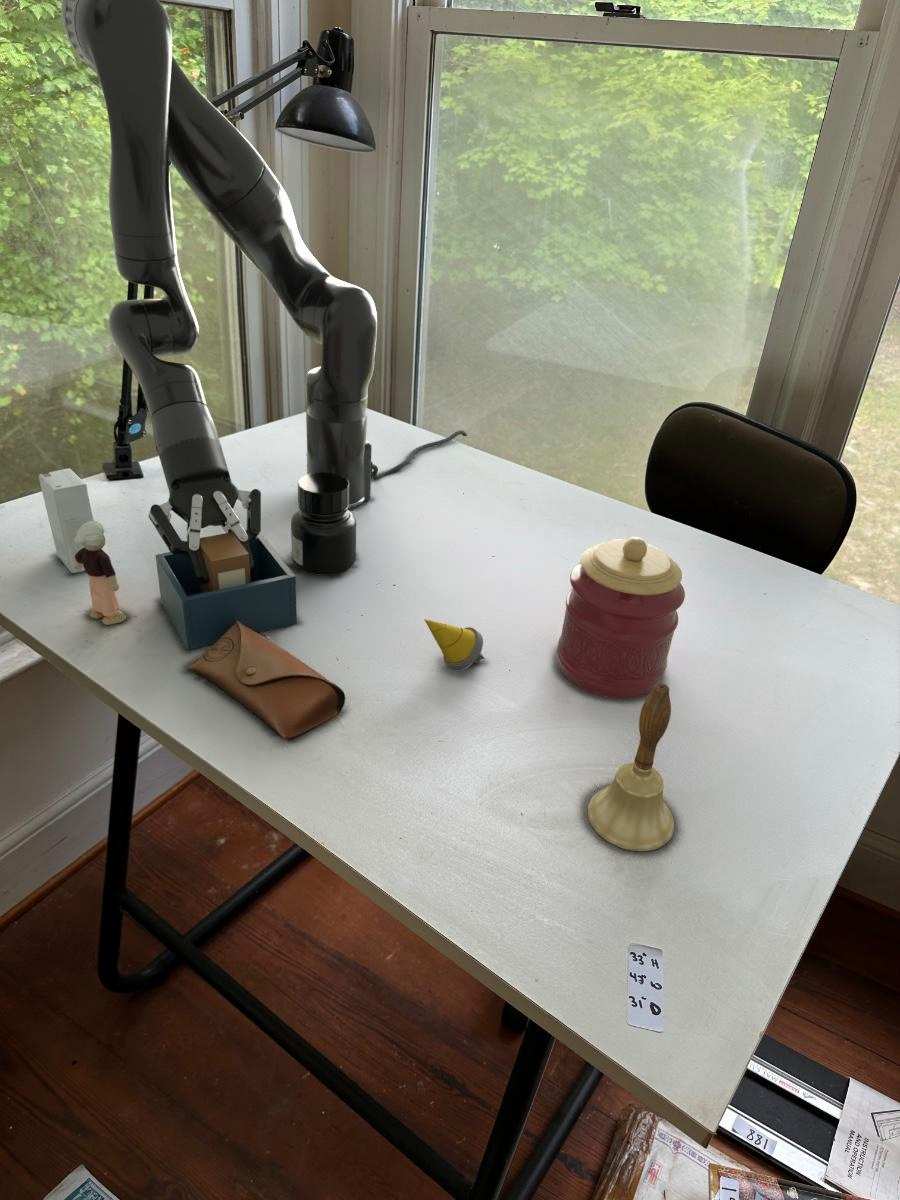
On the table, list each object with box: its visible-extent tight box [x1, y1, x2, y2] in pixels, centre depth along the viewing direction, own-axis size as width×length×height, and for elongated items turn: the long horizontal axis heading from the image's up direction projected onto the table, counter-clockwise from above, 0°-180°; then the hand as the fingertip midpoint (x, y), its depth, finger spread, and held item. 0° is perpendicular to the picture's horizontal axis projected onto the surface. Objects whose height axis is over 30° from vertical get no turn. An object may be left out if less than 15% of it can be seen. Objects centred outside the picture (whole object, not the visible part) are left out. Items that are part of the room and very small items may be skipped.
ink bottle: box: [290, 472, 358, 576], centre depth 116 cm, size 10×9×12 cm
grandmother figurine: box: [74, 520, 127, 626], centre depth 101 cm, size 8×4×13 cm, turn 65°
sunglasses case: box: [187, 620, 346, 740], centre depth 93 cm, size 18×7×7 cm
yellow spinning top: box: [424, 618, 486, 672], centre depth 99 cm, size 5×5×10 cm
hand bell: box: [587, 682, 675, 852], centre depth 77 cm, size 8×8×16 cm
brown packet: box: [199, 532, 250, 593], centre depth 103 cm, size 4×6×8 cm
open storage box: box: [155, 534, 298, 651], centre depth 105 cm, size 14×12×7 cm
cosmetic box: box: [38, 467, 94, 574], centre depth 111 cm, size 6×4×12 cm
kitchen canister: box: [556, 536, 686, 700], centre depth 98 cm, size 13×13×18 cm
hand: (226, 577), depth 103 cm, fingers closed on brown packet, 4 cm apart
